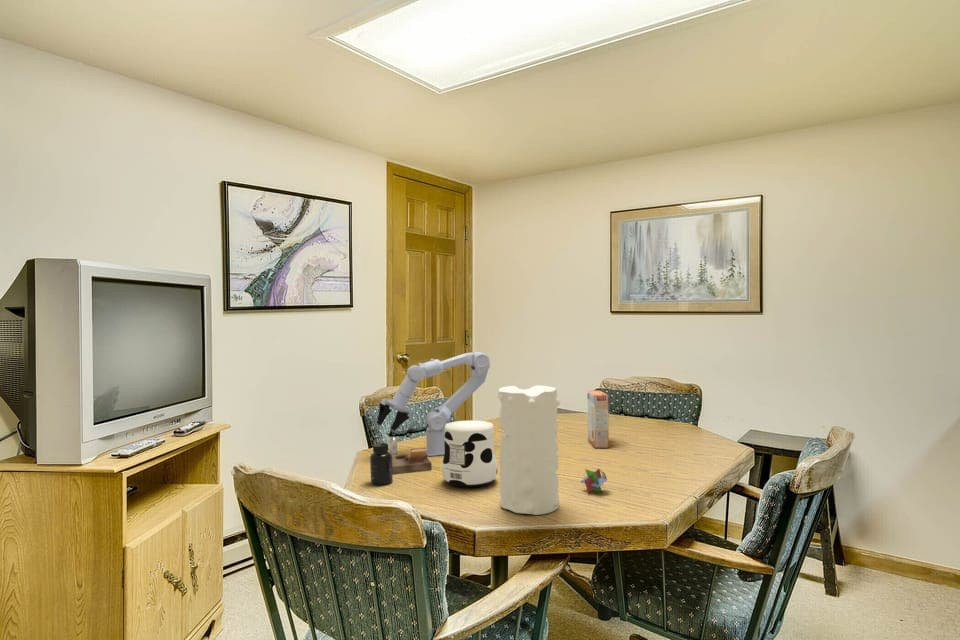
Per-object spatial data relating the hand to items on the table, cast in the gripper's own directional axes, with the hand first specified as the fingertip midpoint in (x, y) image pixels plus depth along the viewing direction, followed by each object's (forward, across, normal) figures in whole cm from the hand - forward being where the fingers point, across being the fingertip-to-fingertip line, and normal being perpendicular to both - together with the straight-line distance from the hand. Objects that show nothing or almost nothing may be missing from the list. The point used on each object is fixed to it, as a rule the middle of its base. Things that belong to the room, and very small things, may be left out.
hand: (385, 426), depth 201 cm
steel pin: (+8, -7, +4) cm, 12 cm away
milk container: (-2, 0, +47) cm, 47 cm away
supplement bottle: (+12, +15, +28) cm, 34 cm away
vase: (-8, +6, +74) cm, 74 cm away
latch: (+1, +1, +23) cm, 23 cm away
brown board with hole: (+7, -1, +19) cm, 20 cm away
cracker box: (-32, -62, +47) cm, 85 cm away
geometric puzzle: (-18, -13, +79) cm, 82 cm away
